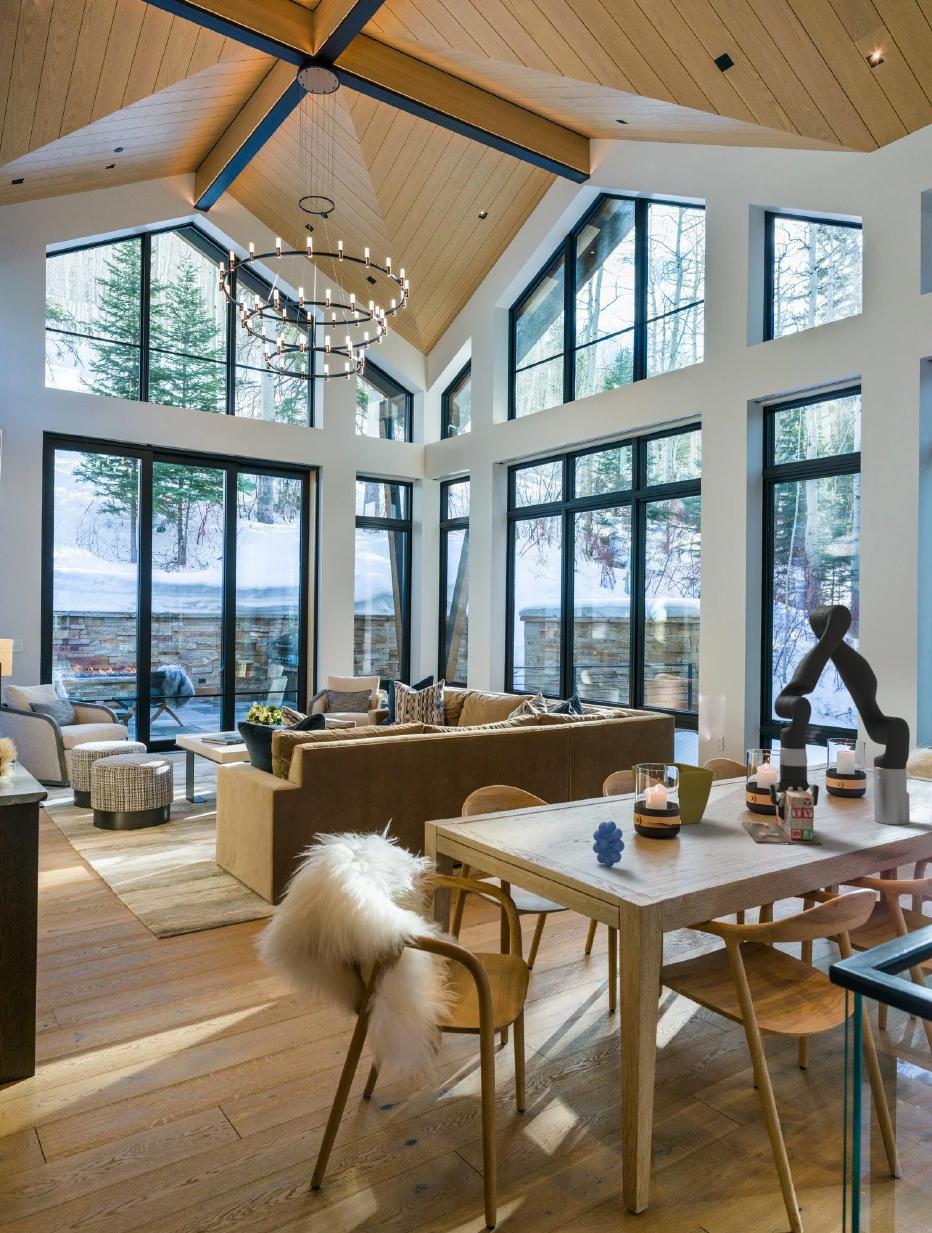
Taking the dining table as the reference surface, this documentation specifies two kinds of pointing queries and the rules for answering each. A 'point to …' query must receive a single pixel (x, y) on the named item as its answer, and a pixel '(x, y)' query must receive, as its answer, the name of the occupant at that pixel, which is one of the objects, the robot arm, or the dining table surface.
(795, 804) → the stack of blocks
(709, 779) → the flower pot
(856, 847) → the dining table surface
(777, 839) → the board
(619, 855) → the grapes
